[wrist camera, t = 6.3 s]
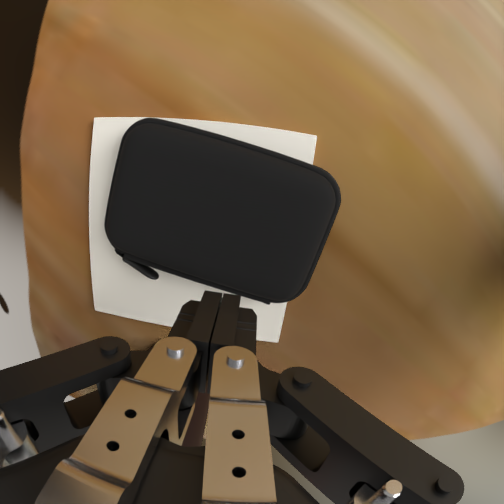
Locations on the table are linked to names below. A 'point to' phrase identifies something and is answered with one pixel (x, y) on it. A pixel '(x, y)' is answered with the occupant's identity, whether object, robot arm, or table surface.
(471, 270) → the table surface
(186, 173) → the carrying case or bag
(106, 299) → the cream paper sheet
